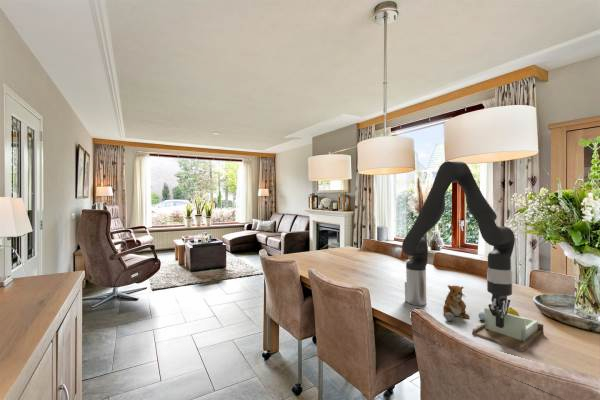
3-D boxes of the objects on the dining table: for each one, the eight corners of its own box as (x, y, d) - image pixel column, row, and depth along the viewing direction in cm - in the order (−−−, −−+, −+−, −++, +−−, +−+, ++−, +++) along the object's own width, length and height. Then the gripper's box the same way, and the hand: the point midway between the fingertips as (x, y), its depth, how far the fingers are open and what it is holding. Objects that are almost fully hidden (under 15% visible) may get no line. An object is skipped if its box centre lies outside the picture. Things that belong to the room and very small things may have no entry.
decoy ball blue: (476, 319, 120) (476, 311, 120) (480, 317, 122) (480, 309, 122) (485, 322, 117) (485, 314, 117) (489, 320, 119) (489, 312, 119)
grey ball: (443, 320, 120) (443, 312, 120) (447, 318, 122) (447, 310, 122) (451, 323, 117) (451, 315, 117) (456, 321, 119) (455, 313, 119)
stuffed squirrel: (445, 318, 123) (444, 288, 123) (439, 306, 136) (438, 279, 136) (471, 320, 120) (470, 289, 120) (462, 308, 133) (461, 280, 133)
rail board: (472, 333, 108) (471, 324, 108) (495, 320, 120) (495, 311, 120) (522, 352, 95) (522, 340, 95) (543, 334, 106) (543, 324, 106)
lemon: (523, 330, 106) (523, 309, 106) (509, 331, 106) (509, 310, 106) (512, 324, 112) (511, 304, 112) (498, 325, 111) (498, 304, 111)
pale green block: (484, 328, 111) (484, 308, 111) (498, 319, 118) (498, 300, 118) (524, 341, 100) (524, 319, 100) (537, 331, 107) (537, 310, 107)
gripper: (495, 275, 111) (496, 319, 110) (479, 280, 103) (480, 327, 103) (518, 279, 104) (519, 326, 104) (503, 285, 97) (504, 335, 97)
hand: (499, 326), depth 104 cm, fingers closed
